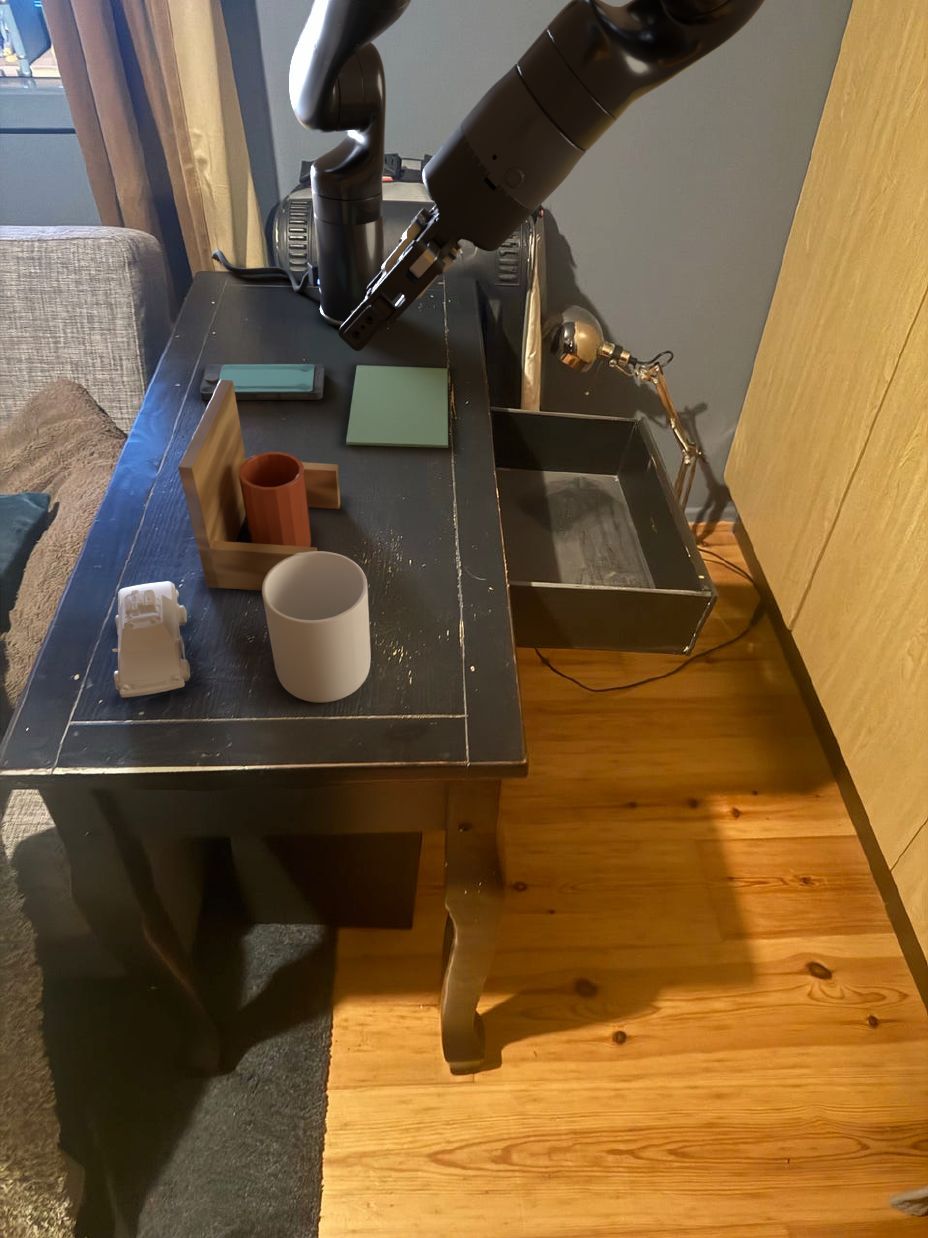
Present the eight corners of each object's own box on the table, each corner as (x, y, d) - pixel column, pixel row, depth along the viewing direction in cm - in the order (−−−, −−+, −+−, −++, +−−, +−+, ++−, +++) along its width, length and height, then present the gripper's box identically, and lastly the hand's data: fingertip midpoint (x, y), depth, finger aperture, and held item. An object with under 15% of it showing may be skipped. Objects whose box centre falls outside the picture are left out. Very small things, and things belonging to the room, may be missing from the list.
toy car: (120, 714, 68) (98, 660, 63) (120, 613, 76) (101, 559, 71) (195, 700, 69) (178, 647, 64) (187, 603, 77) (172, 549, 72)
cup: (244, 533, 85) (230, 460, 78) (299, 518, 87) (291, 446, 80) (262, 568, 81) (250, 495, 75) (319, 552, 83) (312, 479, 77)
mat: (357, 367, 109) (357, 364, 109) (447, 371, 110) (447, 368, 109) (346, 444, 97) (346, 441, 96) (447, 448, 97) (448, 445, 97)
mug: (260, 618, 76) (244, 533, 69) (346, 600, 79) (340, 515, 71) (287, 716, 69) (273, 632, 61) (382, 692, 71) (379, 609, 63)
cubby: (340, 502, 89) (332, 386, 79) (319, 594, 79) (306, 475, 69) (241, 495, 89) (220, 379, 79) (207, 587, 79) (178, 466, 69)
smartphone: (206, 362, 106) (323, 362, 107) (208, 371, 107) (324, 371, 108) (198, 392, 101) (321, 391, 102) (200, 401, 101) (322, 400, 103)
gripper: (479, 97, 61) (347, 256, 70) (448, 140, 50) (297, 320, 59) (548, 177, 63) (412, 320, 72) (532, 234, 53) (376, 392, 62)
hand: (361, 320), depth 66 cm, fingers open, 8 cm apart
